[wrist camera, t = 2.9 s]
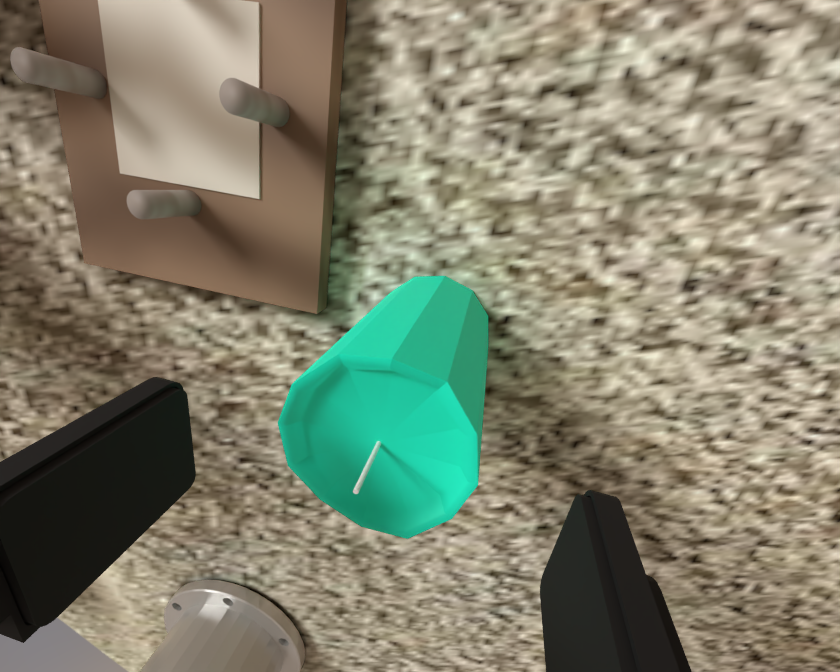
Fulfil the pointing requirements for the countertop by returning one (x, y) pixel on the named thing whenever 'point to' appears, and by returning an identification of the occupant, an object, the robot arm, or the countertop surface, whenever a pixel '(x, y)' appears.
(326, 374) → the candle
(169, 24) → the brown pegged board
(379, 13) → the countertop surface
